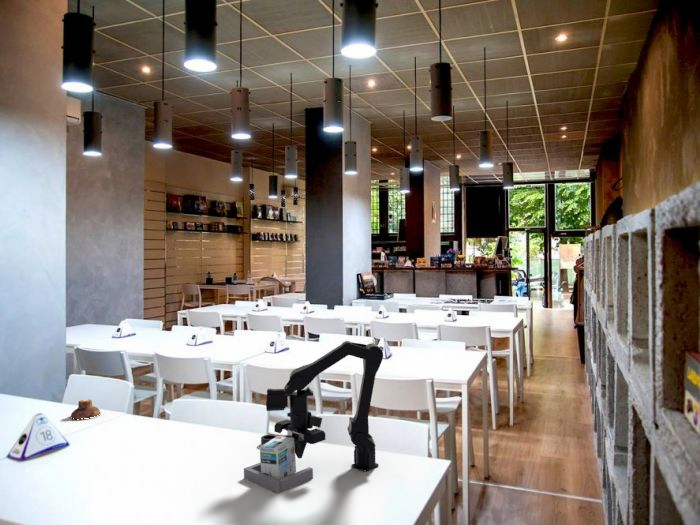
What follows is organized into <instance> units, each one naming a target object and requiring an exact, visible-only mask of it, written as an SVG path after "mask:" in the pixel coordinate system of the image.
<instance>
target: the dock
mask: <svg viewBox="0 0 700 525" xmlns="http://www.w3.org/2000/svg"><path fill="white" fill-rule="evenodd" d="M313 469H314V468H312V467H310V466H308V467H306V468H305V469H302V470H299V471H296V472H295V473H294V474H291V475H289V476H286V477H284V478H281V479H279V480H277V479H275V478H272V477H270V476H268V475H265V474H263V473H261V462H258V463H255V464H252V465H250V466H247V467H244V468H243V479H245V480H247V481H249V482H251V481H252V483H254V484H256V485H258V486H261V487H262V486H263V488H265V489H267V490H270V491H272V492H273V491H274V493H276V494H279V493H281V492H283V491H286V490H288V489H290V488H293V487H296V486H298V485H301V484H302V483H304V482H307V481H310V480H312V479H313V478H314V474H313V473H314V470H313Z"/></svg>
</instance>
